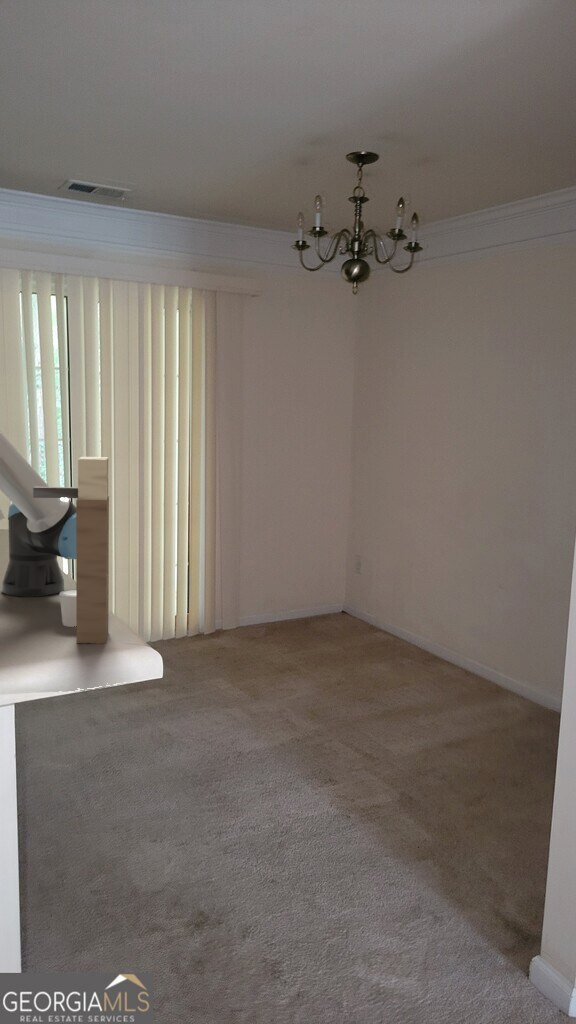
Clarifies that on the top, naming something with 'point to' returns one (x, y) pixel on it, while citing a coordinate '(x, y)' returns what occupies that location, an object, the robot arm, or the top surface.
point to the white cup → (68, 607)
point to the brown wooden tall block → (92, 570)
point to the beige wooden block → (82, 482)
